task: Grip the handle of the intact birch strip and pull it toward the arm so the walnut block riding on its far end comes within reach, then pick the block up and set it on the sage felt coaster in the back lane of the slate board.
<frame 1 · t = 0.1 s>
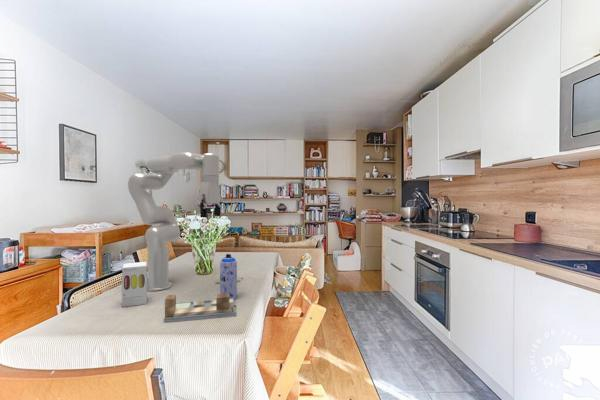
hand: (210, 216, 136), 37 cm above the table, tool pointing down, fingers open, 9 cm apart
slate board: (202, 311, 118), on the table
broken strip: (213, 306, 123), resting on slate board
aerosol can: (228, 297, 134), on the table
supplement box: (135, 302, 128), on the table
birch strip: (200, 303, 114), point 5 cm above the table, slide at 0.0 cm, touching walnut block
felt coaster: (182, 309, 120), resting on slate board
walnut block: (222, 307, 116), point 2 cm above the table, touching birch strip
eiffel tower figurine: (228, 282, 160), on the table
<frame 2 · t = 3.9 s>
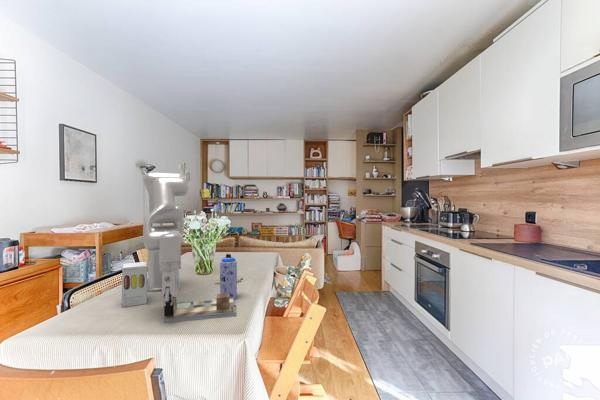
hand: (170, 312, 111), 2 cm above the table, tool pointing down, fingers closed on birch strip, 5 cm apart
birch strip: (200, 303, 114), point 5 cm above the table, slide at 0.0 cm, touching gripper, walnut block
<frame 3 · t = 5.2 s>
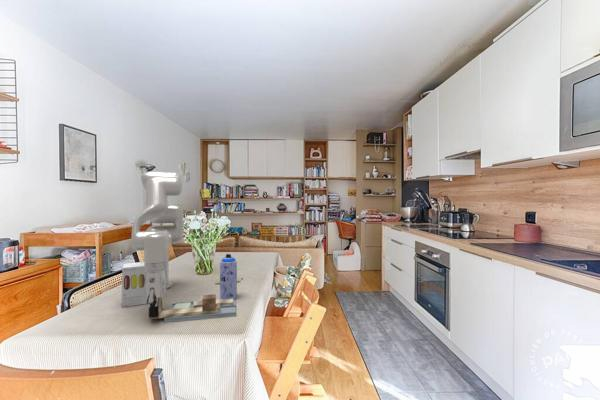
hand: (155, 313, 110), 2 cm above the table, tool pointing down, fingers closed on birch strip, 5 cm apart
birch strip: (186, 304, 113), point 5 cm above the table, slide at 5.2 cm, touching gripper, walnut block
walnut block: (209, 308, 115), point 2 cm above the table, touching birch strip
everything else where it was.
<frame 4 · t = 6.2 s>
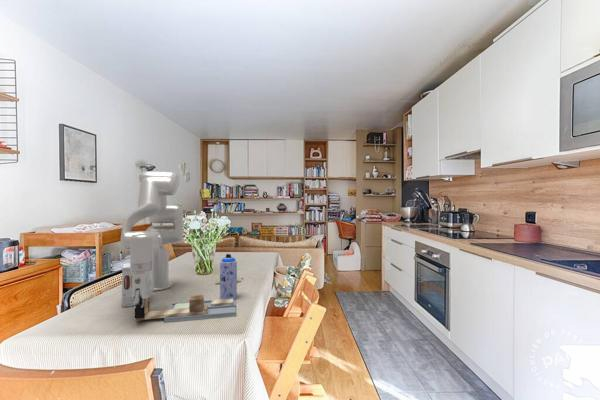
hand: (142, 314, 109), 2 cm above the table, tool pointing down, fingers closed on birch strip, 5 cm apart
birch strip: (173, 305, 112), point 5 cm above the table, slide at 10.0 cm, touching gripper, walnut block
walnut block: (196, 309, 114), point 2 cm above the table, touching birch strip
everything else where it was.
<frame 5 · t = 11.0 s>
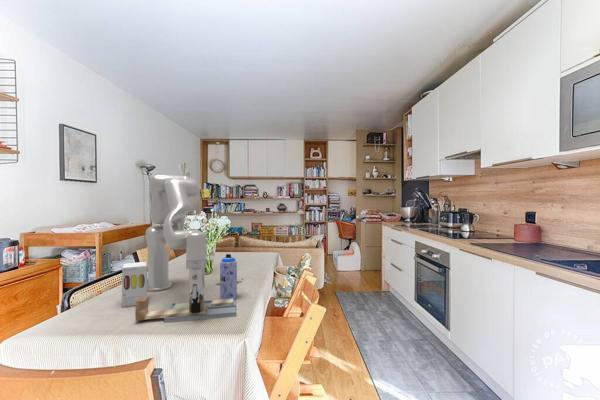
hand: (196, 309, 114), 2 cm above the table, tool pointing down, fingers closed on walnut block, 4 cm apart
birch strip: (173, 305, 112), point 5 cm above the table, slide at 10.0 cm, touching walnut block
walnut block: (196, 309, 114), point 2 cm above the table, touching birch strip, gripper
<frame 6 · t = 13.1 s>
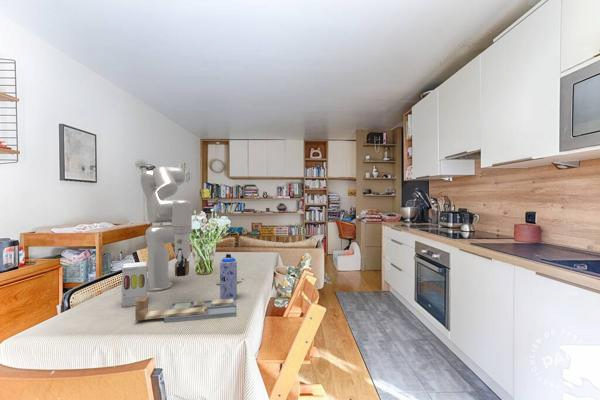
hand: (182, 273, 120), 15 cm above the table, tool pointing down, fingers closed on walnut block, 4 cm apart
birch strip: (173, 305, 112), point 5 cm above the table, slide at 10.0 cm
walnut block: (182, 274, 120), point 15 cm above the table, touching gripper
when the fingers open (3 cm above the table, at t = 15.4 s): walnut block drops 2 cm, resting on felt coaster.
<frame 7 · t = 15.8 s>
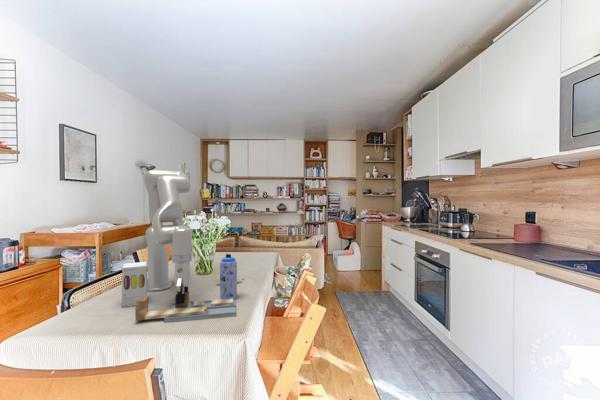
hand: (182, 299, 120), 4 cm above the table, tool pointing down, fingers open, 8 cm apart
walnut block: (182, 305, 120), point 1 cm above the table, touching felt coaster
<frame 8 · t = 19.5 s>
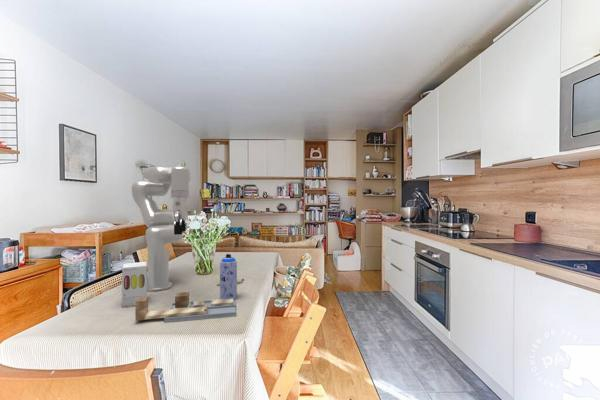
hand: (180, 232, 130), 30 cm above the table, tool pointing down, fingers open, 9 cm apart
at the end: walnut block inside the target area on the felt coaster (0.1 cm from its centre), point 1.4 cm above the felt coaster's base; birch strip slide at 10.0 cm; the gripper is holding nothing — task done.
